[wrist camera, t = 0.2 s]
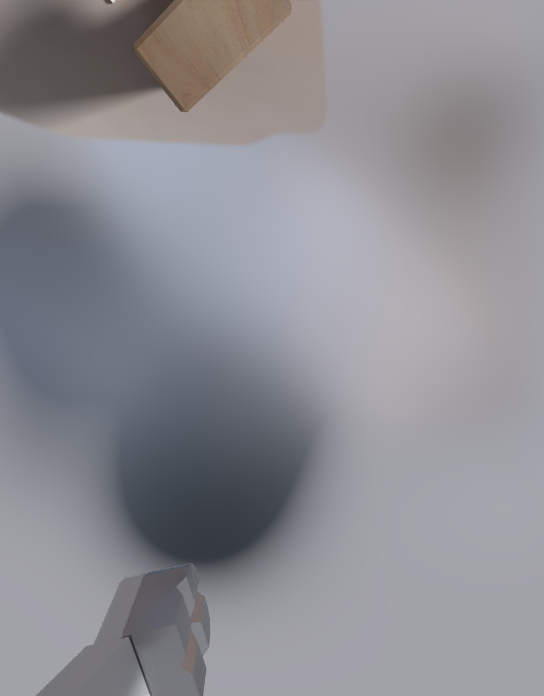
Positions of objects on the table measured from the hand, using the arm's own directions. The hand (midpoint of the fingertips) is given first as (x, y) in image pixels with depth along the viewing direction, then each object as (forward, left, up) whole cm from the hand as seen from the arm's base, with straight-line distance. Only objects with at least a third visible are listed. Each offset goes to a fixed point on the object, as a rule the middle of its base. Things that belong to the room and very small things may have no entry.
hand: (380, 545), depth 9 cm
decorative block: (-7, +4, -54) cm, 55 cm away
